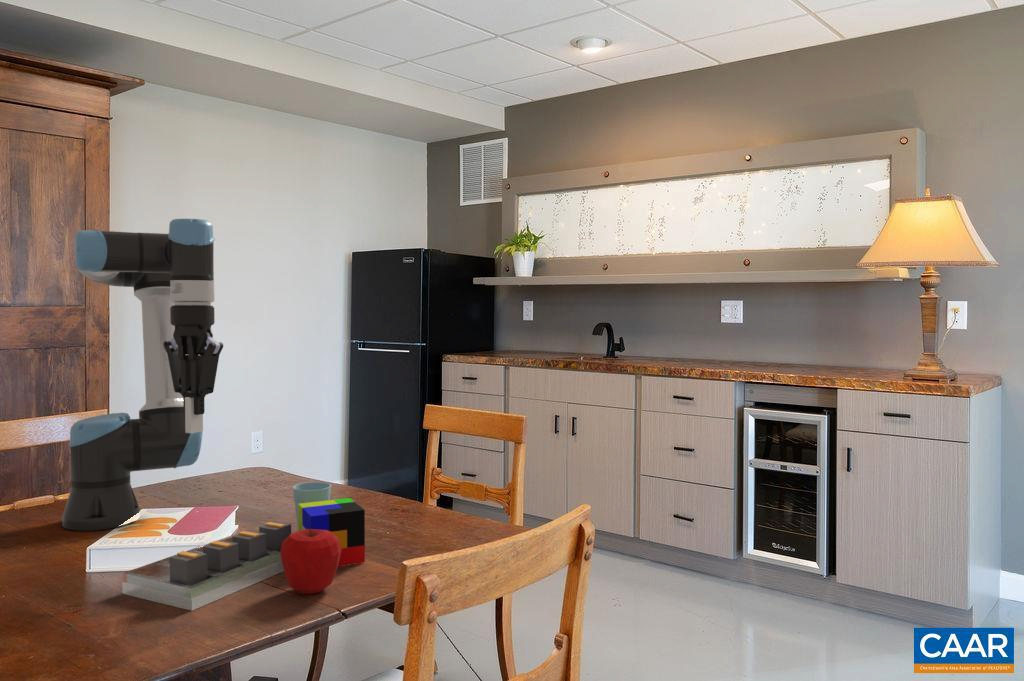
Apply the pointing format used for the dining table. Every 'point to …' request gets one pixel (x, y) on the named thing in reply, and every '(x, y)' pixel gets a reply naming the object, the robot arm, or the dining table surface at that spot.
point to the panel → (159, 588)
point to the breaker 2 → (221, 556)
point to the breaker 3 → (250, 545)
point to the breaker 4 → (275, 534)
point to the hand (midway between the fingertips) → (194, 431)
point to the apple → (310, 559)
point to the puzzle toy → (337, 525)
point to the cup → (310, 493)
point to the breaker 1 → (188, 567)
